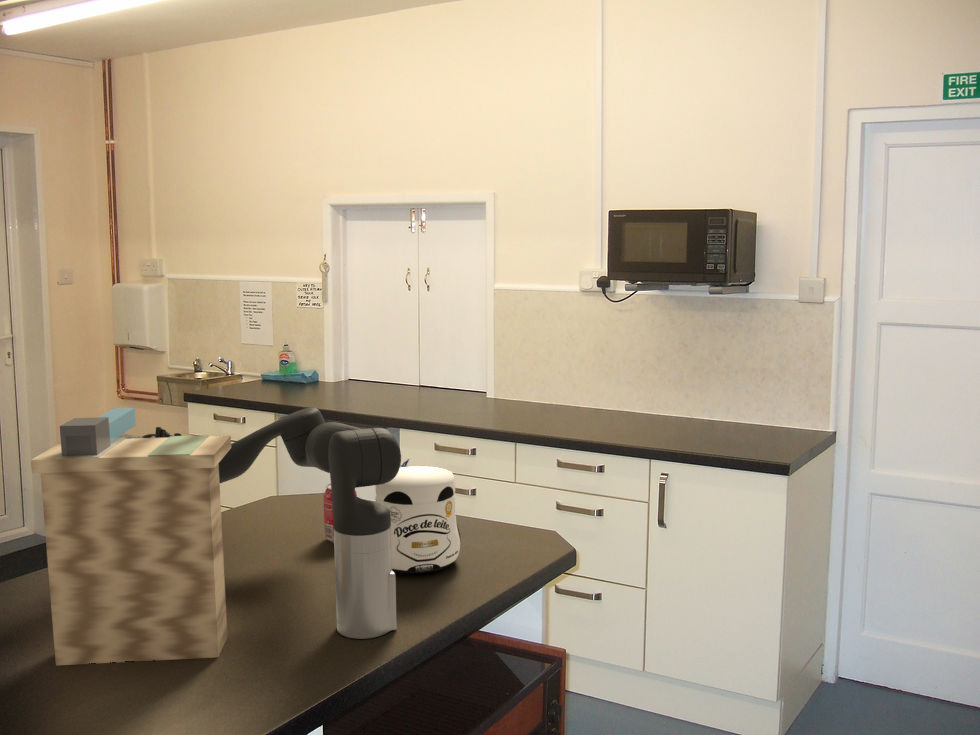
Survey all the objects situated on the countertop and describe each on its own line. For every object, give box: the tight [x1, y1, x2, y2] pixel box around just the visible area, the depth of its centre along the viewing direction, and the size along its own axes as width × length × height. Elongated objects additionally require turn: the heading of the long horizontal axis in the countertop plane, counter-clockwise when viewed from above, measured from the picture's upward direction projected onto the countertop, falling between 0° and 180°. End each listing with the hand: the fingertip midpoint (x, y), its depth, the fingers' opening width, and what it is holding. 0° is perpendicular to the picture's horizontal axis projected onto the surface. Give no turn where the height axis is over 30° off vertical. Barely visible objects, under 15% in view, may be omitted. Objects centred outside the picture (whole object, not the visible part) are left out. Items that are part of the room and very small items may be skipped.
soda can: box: [323, 482, 358, 544], centre depth 189 cm, size 7×7×12 cm
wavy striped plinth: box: [30, 434, 232, 666], centre depth 139 cm, size 26×13×32 cm, turn 96°
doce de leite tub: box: [375, 465, 462, 574], centre depth 174 cm, size 17×17×18 cm
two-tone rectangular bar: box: [59, 407, 137, 456], centre depth 141 cm, size 5×22×4 cm, turn 6°
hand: (132, 432), depth 158 cm, fingers open, 8 cm apart
